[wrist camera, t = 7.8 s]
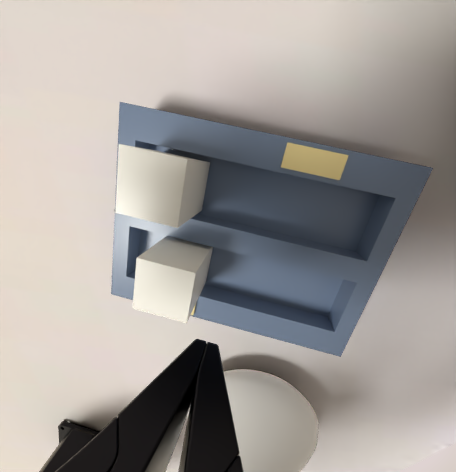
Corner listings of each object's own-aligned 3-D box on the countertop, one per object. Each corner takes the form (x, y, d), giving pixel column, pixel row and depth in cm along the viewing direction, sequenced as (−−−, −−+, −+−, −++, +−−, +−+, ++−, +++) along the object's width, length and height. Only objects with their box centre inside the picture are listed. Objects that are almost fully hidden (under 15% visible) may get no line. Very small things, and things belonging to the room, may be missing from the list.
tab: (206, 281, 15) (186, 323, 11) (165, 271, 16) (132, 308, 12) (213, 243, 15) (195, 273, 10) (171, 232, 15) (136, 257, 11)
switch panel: (326, 325, 17) (341, 359, 14) (134, 274, 18) (109, 295, 15) (395, 168, 13) (436, 167, 10) (147, 115, 14) (117, 100, 11)
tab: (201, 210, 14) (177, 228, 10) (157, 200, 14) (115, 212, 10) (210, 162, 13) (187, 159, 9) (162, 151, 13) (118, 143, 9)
